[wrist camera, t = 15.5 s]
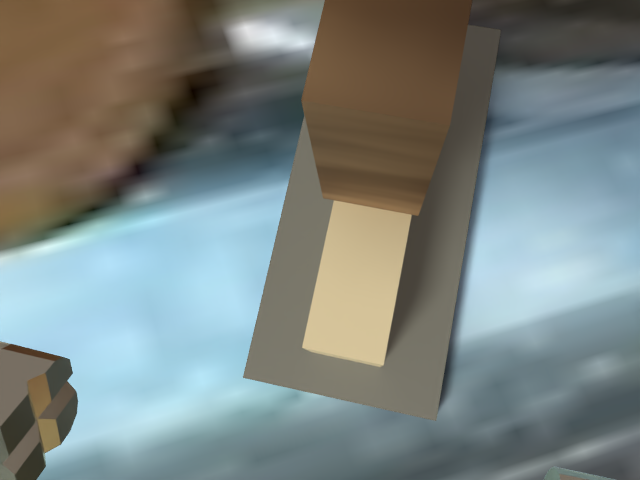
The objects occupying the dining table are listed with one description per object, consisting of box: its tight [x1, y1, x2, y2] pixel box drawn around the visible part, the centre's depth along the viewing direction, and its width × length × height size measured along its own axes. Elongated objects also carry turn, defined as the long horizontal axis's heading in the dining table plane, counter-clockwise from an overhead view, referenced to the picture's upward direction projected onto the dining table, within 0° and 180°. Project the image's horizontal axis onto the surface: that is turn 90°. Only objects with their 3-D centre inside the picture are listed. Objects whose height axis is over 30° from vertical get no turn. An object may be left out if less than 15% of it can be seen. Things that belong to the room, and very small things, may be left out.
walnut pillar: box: [301, 0, 472, 216], centre depth 23 cm, size 4×4×10 cm
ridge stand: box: [243, 25, 501, 421], centre depth 31 cm, size 22×10×6 cm, turn 168°
